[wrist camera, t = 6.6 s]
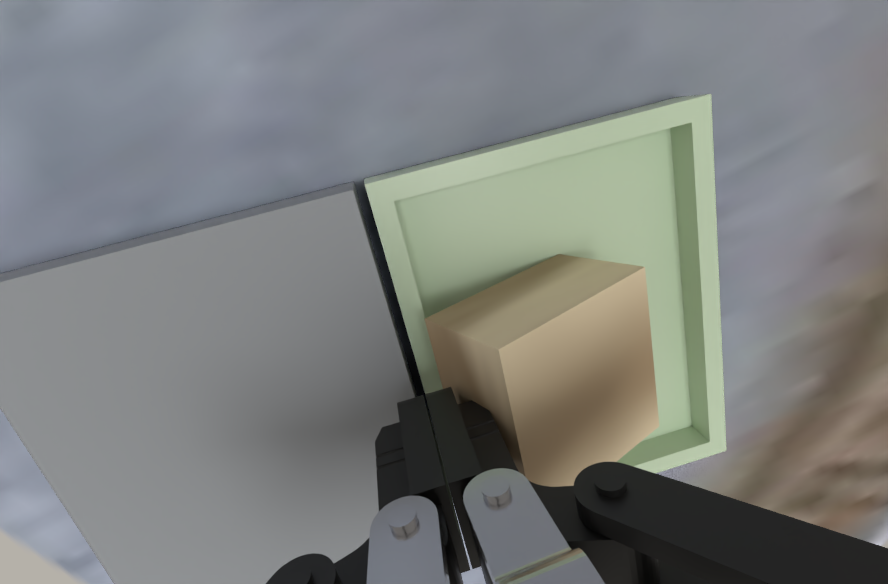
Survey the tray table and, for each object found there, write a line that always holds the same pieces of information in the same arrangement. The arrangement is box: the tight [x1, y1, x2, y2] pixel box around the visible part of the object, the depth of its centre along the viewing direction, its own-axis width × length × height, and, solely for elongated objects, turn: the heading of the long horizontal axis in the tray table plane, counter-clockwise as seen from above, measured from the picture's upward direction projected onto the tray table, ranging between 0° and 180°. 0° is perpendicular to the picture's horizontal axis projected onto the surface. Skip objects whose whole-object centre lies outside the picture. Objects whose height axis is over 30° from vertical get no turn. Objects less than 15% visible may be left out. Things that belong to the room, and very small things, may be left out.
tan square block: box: [425, 254, 659, 487], centre depth 14 cm, size 5×5×3 cm
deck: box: [0, 182, 418, 584], centre depth 15 cm, size 12×10×2 cm
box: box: [364, 94, 726, 473], centre depth 16 cm, size 12×10×2 cm
